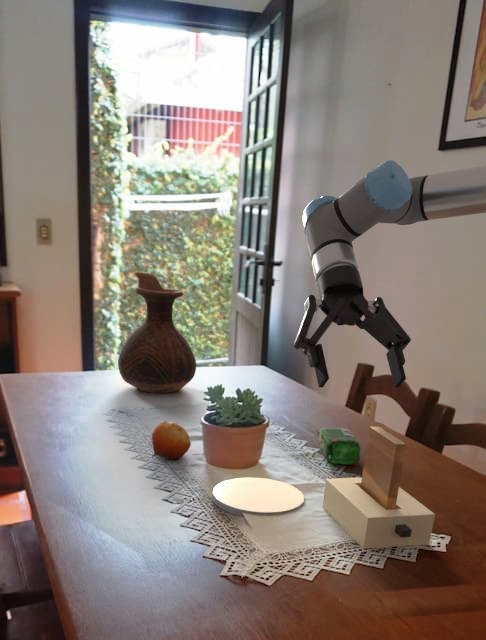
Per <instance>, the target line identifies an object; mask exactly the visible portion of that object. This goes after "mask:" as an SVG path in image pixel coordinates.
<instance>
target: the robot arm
mask: <svg viewBox="0 0 486 640" xmlns="http://www.w3.org/2000/svg"><path fill="white" fill-rule="evenodd" d="M478 214H486V165H479V166H473V167H469V168H462V169H461V168H460V169H456V170H450V171H444V172H439V173H438V172H437V173H433V174H428V175H421V176H413V177H409V176H408V174H407V173H406V171H405V169H403V167H402V166H401V165H400V164H398V163H397V162H396V161H395V160H392V159H387V160H385V161H383V162H382V163H380V164H379V165H378V166H376V167H374V168H372V169H370V170H369V171H368V172H367V173H366V174H365V175H364V176H363V177H362V178H361V179H359V180H358V181H357V182H356V183H354V184H353V185H352V186H351V187H350V188H349V189H347V190H346V191H345V192H343V193H342V194H341V195H340V196H338V197H335V196H333V195H323V196H321V197H319V198H315V199H313V200H311V201H310V202H309V203H308V204H307V205H306V207H304V210H303V213H302V225H303V234H304V238H305V240H306V245H307V248H308V251H309V256H310V261H311V266H312V271H313V275H314V279H315V282H316V283H315V284H316V289H317V293H318V294H317V295H318V298H316V296H315V295H314V294H309V295H308V297H307V298H306V301H305V302H304V304H303V311H304V315H303V318H302V320H301V323H300V326H299V329H298V331H297V334H296V337H295V340H294V343H293V347H294V349H296V350H299V349H303V350H302V353H303V354H304V355H305V356H307V360H308V365H309V368H314V373H315V376H316V380H317V385H318V388H324V387H325V386H326V384H327V382H328V381H329V380H330V377H329V371H328V367H327V363H326V359H325V352H324V349H323V344H322V343H319V342H320V340H321V338H322V337H323V336H324V335H325V333H326V332H327V330H328V329H329V328H330V326H331V325H332V324H333V323H334V324H336V325H337V326H346V325H347V326H350V327H351V326H352V327H354V326H356V327H358V329H360V330H364V331H365V332H366V333H368V334H369V335H370V336H371V337H372V338H374V340H376V341H377V342H378V343H379V344H380V345H381V346H383V347H384V348H385V349H386V350H387V352H386V354H385V355H386V359H387V363H388V367H389V370H390V371H389V372H390V374H391V379H392V383H393V386H394V388H399V387H400V386H401V385H402V384H403V383H404V382H405V381H406V380H407V376H406V372H405V368H404V365H405V364H406V357H405V354H404V350H405V349H406V347H407V346H408V345H409V344H410V342H411V341H412V339H411V337H410V336H409V334H408V333H407V332H406V330H404V328H403V327H402V326H401V324H400V323H399V322H398V321H397V319H396V318H395V317H394V315H393V314H392V313H391V312H390V311H389V309H388V308H387V307H386V305H385V302H384V299H383V298H382V297H380V296H377V297H376V298H375V299H374V300H367V298H366V297H365V295H364V285H363V282H362V278H361V273H360V271H359V265H358V261H357V258H356V254H355V250H354V246H353V242H354V241H355V240H356V239H358V238H359V237H361V236H363V234H365V233H366V232H367V231H369V230H370V229H372V228H373V227H375V226H376V225H378V224H395V225H398V226H408V225H414V224H417V223H419V222H427V221H430V220H433V221H434V220H441V219H447V218H454V217H455V218H456V217H464V216H471V215H478ZM319 309H320V311H321V312H322V313H323V314H324V315H325V318H324V319H323V321H322V322H321V323H320V325H319V326H318V327H317V328H316V330H315V331H314V333H313V334H312V335H311V336H310V338H308V337H307V335H308V332H309V329H310V327H311V324H312V321H313V318H314V315H315V313H317V311H318V310H319ZM363 317H364V319H363V320H362V318H363Z"/></svg>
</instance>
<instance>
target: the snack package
mask: <svg viewBox="0 0 486 640" xmlns="http://www.w3.org/2000/svg"><path fill="white" fill-rule="evenodd" d="M317 435H318V441H319V442H318V443H319V446H320V449H321V451H322V453H323V456H324V458H325V459H326V460H327V462H329V463H330V464H333V465H346V466H347V465H349V466H351V465H355V464H356V463H358V462H359V461H360V459H361V458H360V457H361V456H360V455H361V446H360V443H359V441H358V440H357V438H356V436H355V434H354V433H353V432H352V431H351V430H350V429H349V428H348V429H347V428H340V427H323V428H321V429H320V430H319V431H317Z"/></svg>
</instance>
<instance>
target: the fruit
mask: <svg viewBox="0 0 486 640" xmlns="http://www.w3.org/2000/svg"><path fill="white" fill-rule="evenodd" d="M151 443H152V450H153V455H152V456H151V458H154V457H156V456H160V457H162V458H164V459H168V460H173V461H177V460H179V459H181V458H182V457H183V456H184V455H185V454H187V453H188V452H189V450H190V448H191V439H190V434H189V433H188V431H187V430H186V428H185V427H183V426H182V425H179V424H178V423H176V422H169V421H162V422H161V423H159V424H158V425H156V427H155V428H154V429H153V432H152V434H151Z"/></svg>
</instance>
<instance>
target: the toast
mask: <svg viewBox="0 0 486 640" xmlns="http://www.w3.org/2000/svg"><path fill="white" fill-rule="evenodd" d="M368 428H369V429H368V435H367V442H366V448H365V449H366V450H365V455H364V461H363V467H362V475H361V477H362V481H361V489H362V490H364V491H365V492H366V493H367V494H368V495H369V496H371V497H372V498H373V499H374V500H375V501H376V502H378V503H379V504H380V505H381V506H382V507H383V508H385V509H386V510H394V509H395V508H396V502H397V496H398V490H399V487H400V483H401V477H402V473H403V467H404V462H405V456H406V451H407V443H405V442H404V441H402V440H401V439H399V438H398V437H396V436H395V435H393V434H391V433H390V432H388V431H387V430H385V429H383V428H382V427H380V426H369V427H368Z"/></svg>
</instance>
